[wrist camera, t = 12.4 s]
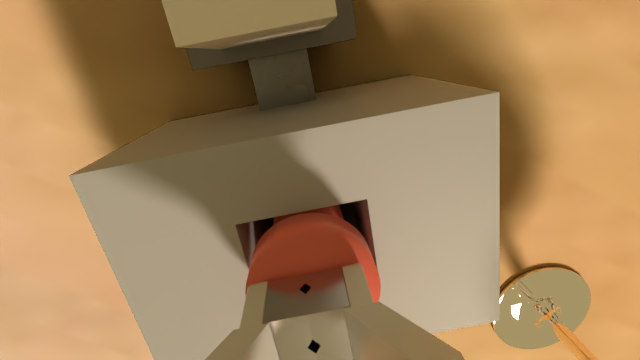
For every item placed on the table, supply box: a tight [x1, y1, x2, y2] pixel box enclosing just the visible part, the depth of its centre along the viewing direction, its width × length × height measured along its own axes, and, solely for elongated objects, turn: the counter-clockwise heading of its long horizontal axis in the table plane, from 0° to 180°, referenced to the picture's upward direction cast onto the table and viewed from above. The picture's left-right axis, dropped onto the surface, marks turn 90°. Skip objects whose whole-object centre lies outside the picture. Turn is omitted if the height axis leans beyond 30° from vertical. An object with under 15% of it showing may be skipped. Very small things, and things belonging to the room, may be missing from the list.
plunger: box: [245, 205, 381, 302], centre depth 13 cm, size 4×4×9 cm
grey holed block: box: [69, 75, 500, 360], centre depth 15 cm, size 12×8×8 cm, turn 100°
